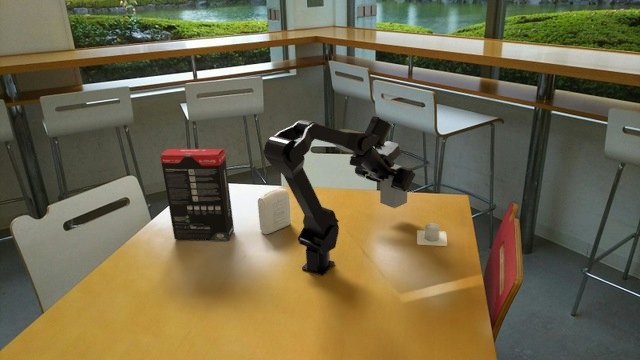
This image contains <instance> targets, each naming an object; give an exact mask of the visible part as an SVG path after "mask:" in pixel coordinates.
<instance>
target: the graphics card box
mask: <svg viewBox="0 0 640 360" xmlns="http://www.w3.org/2000/svg"><path fill="white" fill-rule="evenodd" d="M225 150H226V149H225V148H168V149H166V150H164V151H163V152H162V153H160V155H159V158H160V163H161V168H162V174H163V179H164V184H165V190H166V191H165V192H166V195H167V202H168V208H169V214H170V221H171V225H172V227H171V228H172V232H173V237H174V240H179V241H180V240H183V241H185V240H186V241H187V240H188V241H210V242H212V241H213V242H219V241H220V242H228V241H229V240H230V239H231V237H232V236H233V234H234V232H235V227H234V218H233V211H232V210H233V209H232V203H231V194H230V186H229V178H228V177H229V176H228V168H227V160H226V159H227V158H226V151H225Z"/></svg>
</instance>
